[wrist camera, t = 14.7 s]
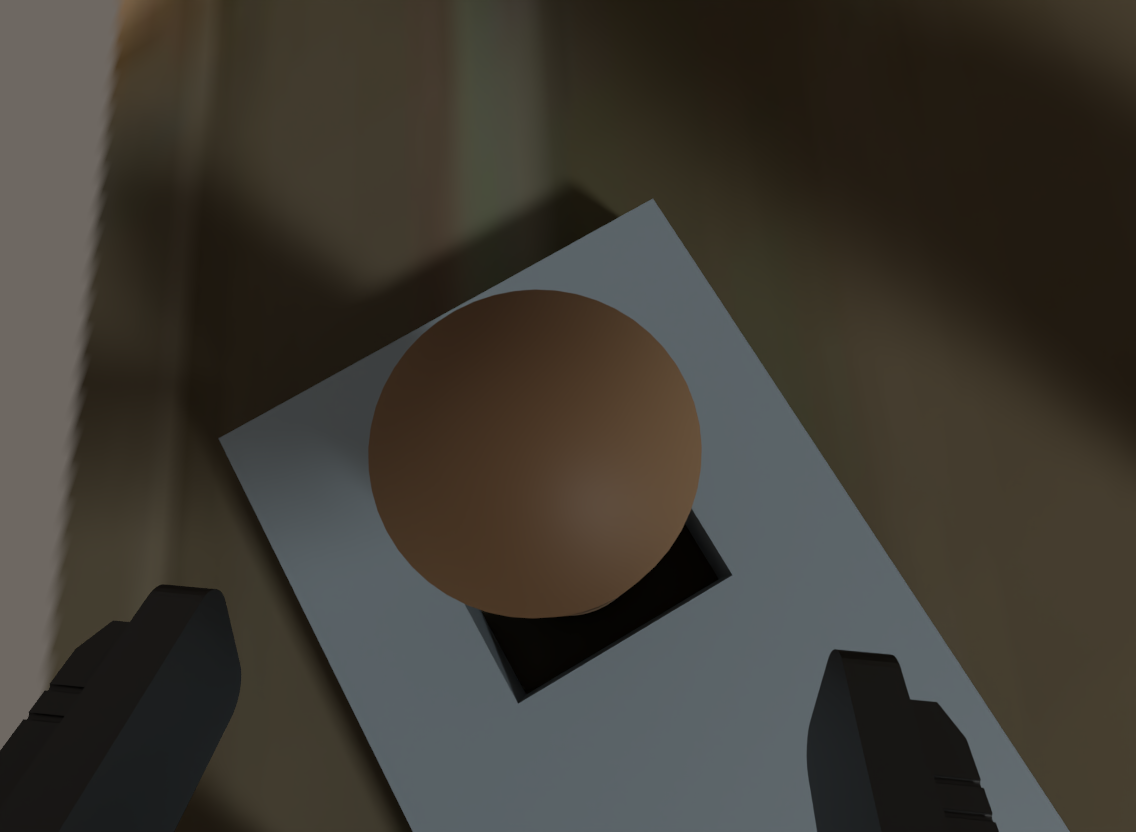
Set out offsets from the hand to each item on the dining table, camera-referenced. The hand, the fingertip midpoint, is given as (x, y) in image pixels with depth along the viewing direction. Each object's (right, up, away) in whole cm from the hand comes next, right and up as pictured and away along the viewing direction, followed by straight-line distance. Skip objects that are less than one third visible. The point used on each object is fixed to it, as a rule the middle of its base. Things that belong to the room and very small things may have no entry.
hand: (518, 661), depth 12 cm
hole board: (+2, -3, +12) cm, 12 cm away
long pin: (+1, 0, +13) cm, 13 cm away
